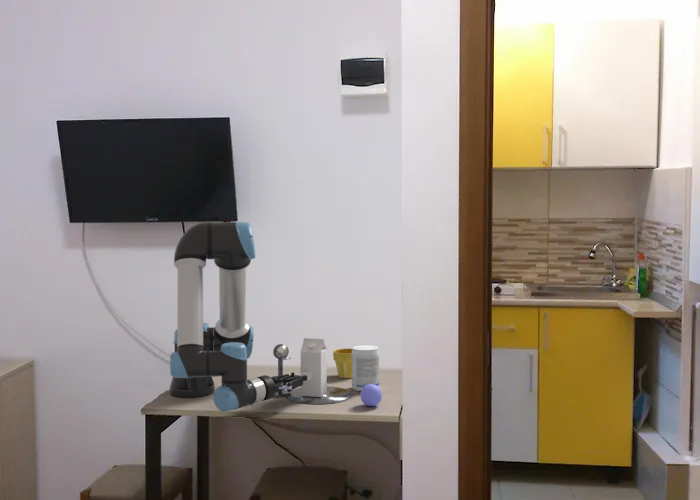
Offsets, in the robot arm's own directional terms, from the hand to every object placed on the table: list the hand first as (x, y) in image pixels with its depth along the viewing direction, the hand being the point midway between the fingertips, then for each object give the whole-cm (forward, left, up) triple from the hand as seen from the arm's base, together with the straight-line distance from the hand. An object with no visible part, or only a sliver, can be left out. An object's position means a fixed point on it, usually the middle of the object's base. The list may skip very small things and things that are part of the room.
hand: (310, 375), depth 240 cm
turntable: (+5, +2, -8) cm, 10 cm away
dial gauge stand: (-6, +9, -8) cm, 14 cm away
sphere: (+13, -18, -8) cm, 23 cm away
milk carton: (+3, +3, -8) cm, 9 cm away
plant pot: (+27, +20, -8) cm, 35 cm away
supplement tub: (+23, +1, -8) cm, 24 cm away
